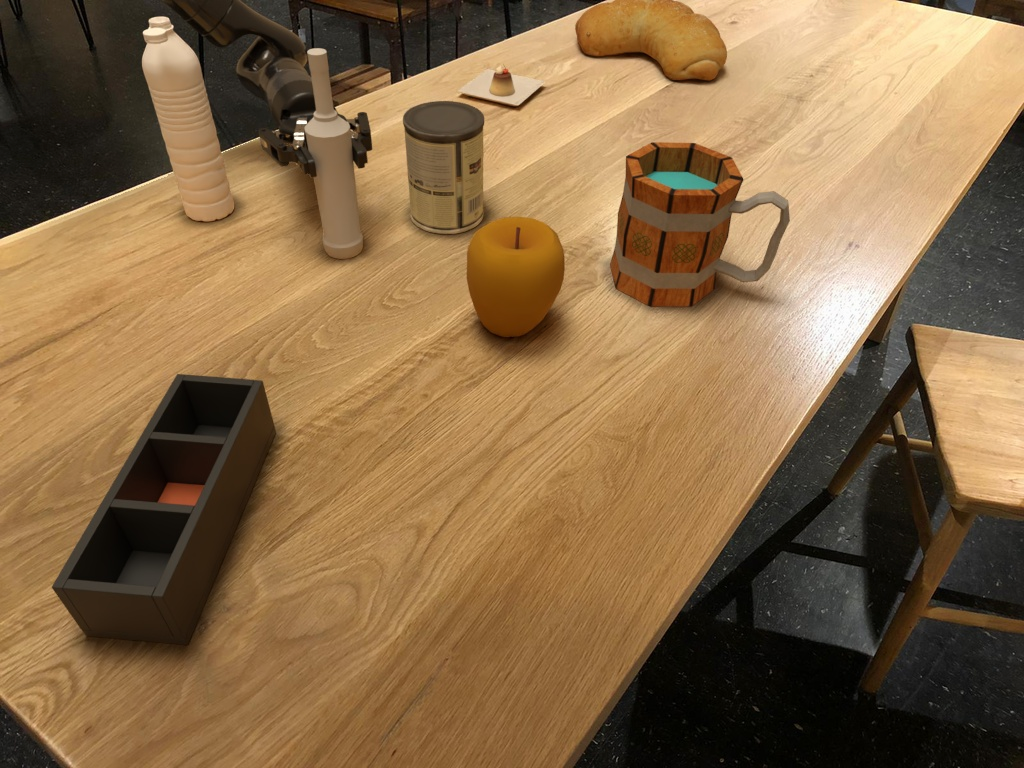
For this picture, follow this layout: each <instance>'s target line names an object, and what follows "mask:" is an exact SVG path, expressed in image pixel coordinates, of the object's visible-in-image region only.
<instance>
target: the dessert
mask: <svg viewBox="0 0 1024 768" xmlns="http://www.w3.org/2000/svg"><path fill="white" fill-rule="evenodd" d="M502 65H503V66H504V68H503V67H502ZM502 65H498V67H496V68H495V69H491V68H486V69H484V70H483V71H481V73H479V74H478V75H476V76H475V77H474V78H473V79H471V80H469V81H468V82H467V83H465V84H464V85H463V86H462V87H460V88H459V89H458V90H457V91H456V92H457V93H459V94H462V95H464V96H467V97H471V98H475V99H480V100H483V101H488V102H493V103H497V104H501V105H506V106H511V107H518V106H520V105H521V104H522V103H523V102H524V101H525V100H527V99H528V98H529V97H530V96H532V94H534V93H535V92H536V91H537V90H538V89H539V88H541V87H542V86H543V85H544V84H545V83H546V82H547V81H546V80H542V79H537V78H533V77H528V76H524V75H519V74H514V73H511V72H510V71H509V69H508V68H506V67H505V64H504V63H503V64H502Z"/></svg>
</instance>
